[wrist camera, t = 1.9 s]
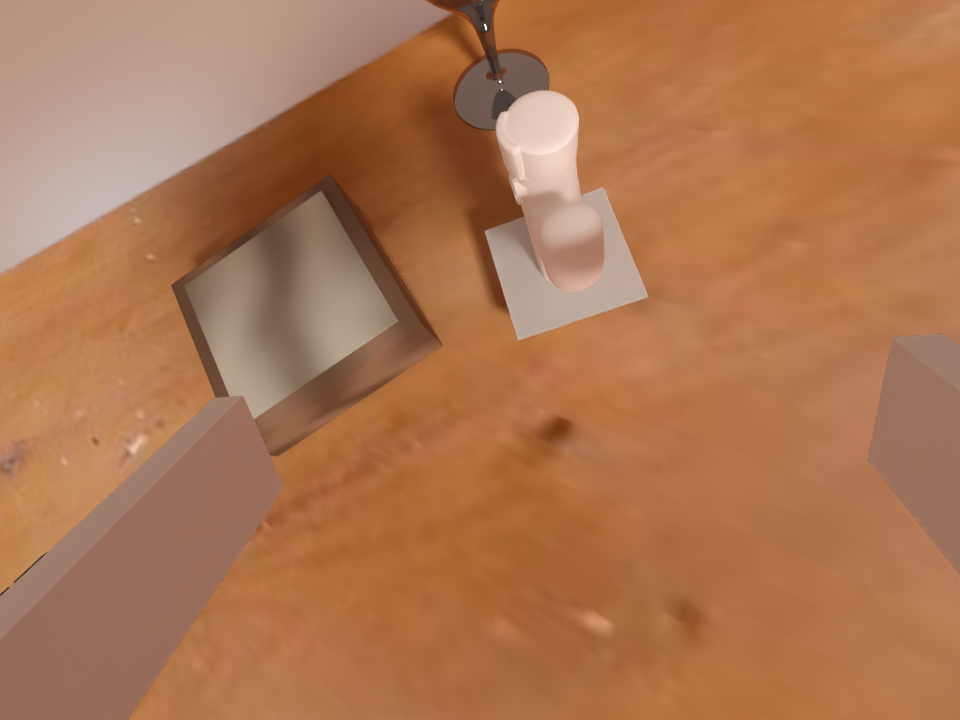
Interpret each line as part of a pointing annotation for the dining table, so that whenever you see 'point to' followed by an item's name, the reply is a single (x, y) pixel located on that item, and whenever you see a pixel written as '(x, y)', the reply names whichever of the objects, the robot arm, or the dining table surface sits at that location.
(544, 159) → the figurine
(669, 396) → the dining table surface
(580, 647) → the dining table surface
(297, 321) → the walnut pedestal
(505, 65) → the wine glass
